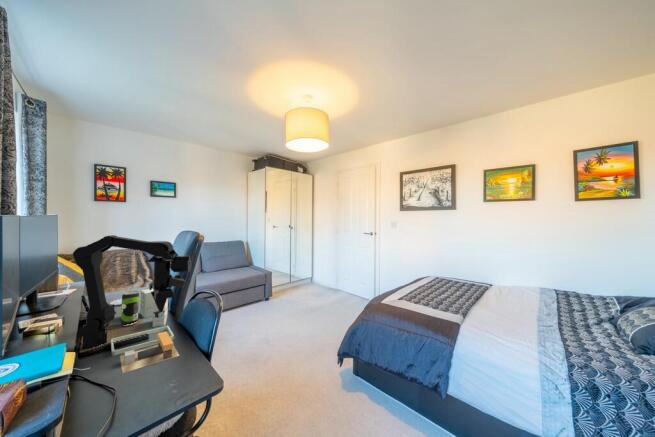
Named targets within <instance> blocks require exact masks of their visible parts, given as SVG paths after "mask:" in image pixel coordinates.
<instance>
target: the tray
mask: <svg viewBox="0 0 655 437" xmlns="http://www.w3.org/2000/svg"><path fill="white" fill-rule="evenodd" d="M165 331H167V333H168V334H169V336H170V338H171V340H172V341H174V340H175V334H174V333H173V331H172V330H171V328H170V326H169V325H164V326H159V327H155V328H153V329H148V330H144V331H139V332H134V333H131V334H126V335H122V336H121V335H120V336H118V337H112V338H110V349H111V357H114V356H118V355H123V354H125V352H127V351H131V350H134V351H138V350H142V349H146V348H149V347H153V346H157V345H158V339H155V340H150V341H147V342H143V343H139V344H135V345H131V346H127V347H123V348H120V349H119V348H118V349H115V346H114V344H115V343H117V342H116V341H119V342H121V341H120V340H122V339H125V338H128V337H132V336H136V335H140V334H145V333H147V334H148V335H152V334H156V333H161V332H165ZM113 342H114V343H113Z"/></svg>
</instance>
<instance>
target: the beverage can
mask: <svg viewBox="0 0 655 437" xmlns="http://www.w3.org/2000/svg"><path fill="white" fill-rule="evenodd" d="M139 302H140V293H139V290H128V291H124V292H122V296H121V310H120V311H121V312H120V325H121V326H122V325H127V324H131V323H134V322H136V321H139V306H140V305H139Z"/></svg>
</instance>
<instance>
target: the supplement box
mask: <svg viewBox="0 0 655 437" xmlns="http://www.w3.org/2000/svg"><path fill="white" fill-rule="evenodd" d="M151 292H153V288H152V289H151V290H149V288H148V289H141V290H140V305H139V306H140V307H139V308H140V310H139V314H141V315H142V316H141V315H140V316H141V317H143V318H144V319H146V318H150V317H153V302H154V299H153V297H152V294H151Z"/></svg>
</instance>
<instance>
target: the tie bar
mask: <svg viewBox="0 0 655 437" xmlns="http://www.w3.org/2000/svg"><path fill="white" fill-rule="evenodd" d="M156 338H157V339H156V340H158V341H159V343H160V345H161V347H162V350H163V351H167V350H170V349H173V345H174V342H173V341H174V340H171V338H170V335H169V333H168V331H167V330H165V331H160V332H157V336H156Z"/></svg>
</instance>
